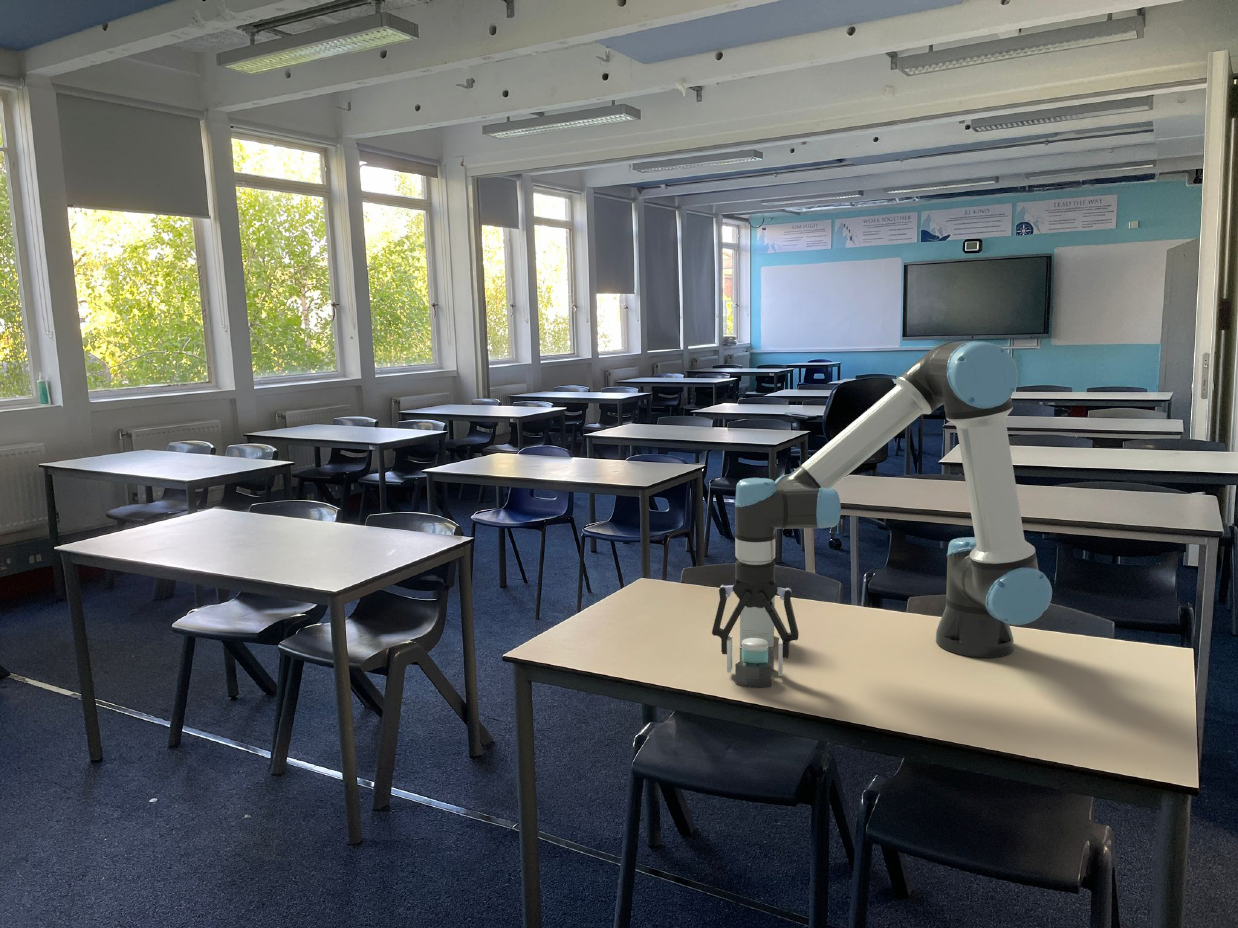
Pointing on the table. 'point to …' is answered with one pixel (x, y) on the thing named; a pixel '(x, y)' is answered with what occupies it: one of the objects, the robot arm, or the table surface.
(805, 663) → the table surface
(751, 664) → the grey stepped block
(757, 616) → the supplement box
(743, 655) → the teal lidded jar
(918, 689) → the table surface
